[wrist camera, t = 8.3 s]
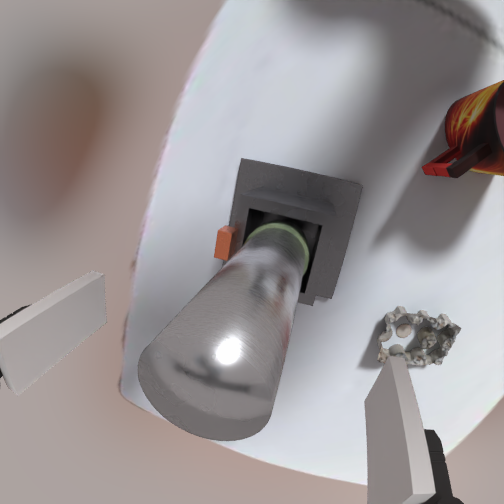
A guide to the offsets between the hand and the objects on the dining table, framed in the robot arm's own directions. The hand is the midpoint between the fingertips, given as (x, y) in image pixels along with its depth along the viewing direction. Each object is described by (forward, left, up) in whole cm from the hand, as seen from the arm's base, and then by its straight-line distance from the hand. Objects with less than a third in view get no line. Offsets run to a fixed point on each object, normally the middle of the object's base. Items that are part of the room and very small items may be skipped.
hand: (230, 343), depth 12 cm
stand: (0, 0, -25) cm, 25 cm away
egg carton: (+10, +20, -25) cm, 34 cm away
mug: (-15, +20, -25) cm, 36 cm away
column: (+1, 0, -17) cm, 17 cm away
